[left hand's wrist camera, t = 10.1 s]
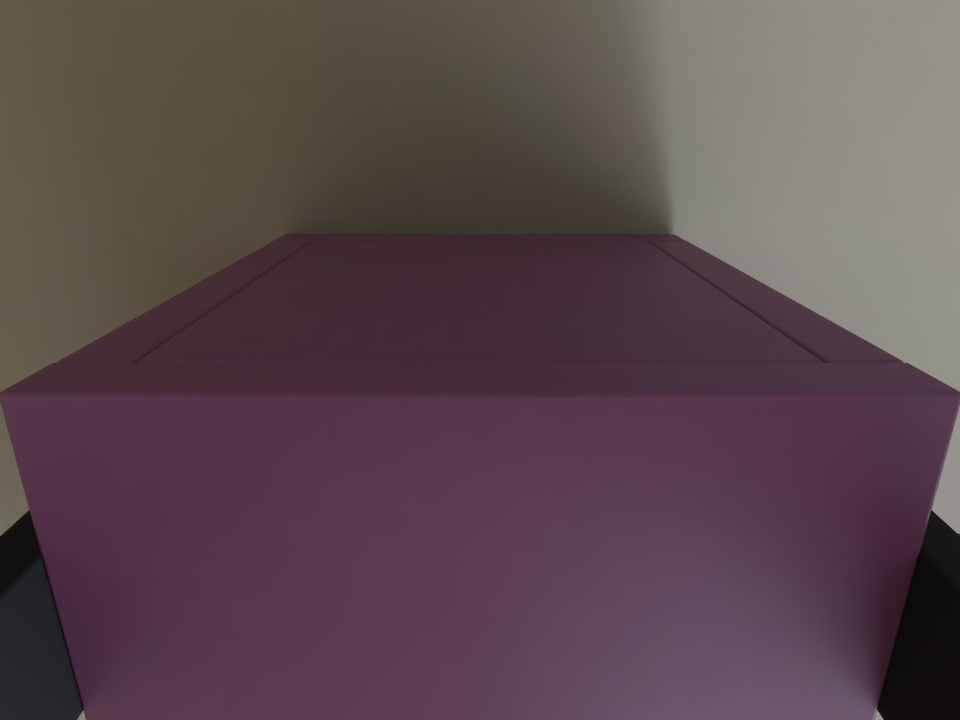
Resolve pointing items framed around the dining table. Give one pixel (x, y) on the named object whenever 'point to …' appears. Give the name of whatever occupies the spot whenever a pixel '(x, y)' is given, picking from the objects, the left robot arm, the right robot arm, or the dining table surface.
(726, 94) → the dining table surface
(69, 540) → the purple rectangular block
